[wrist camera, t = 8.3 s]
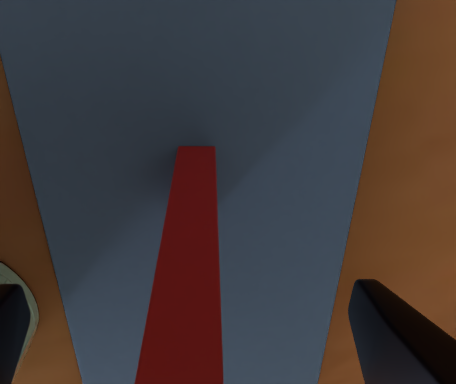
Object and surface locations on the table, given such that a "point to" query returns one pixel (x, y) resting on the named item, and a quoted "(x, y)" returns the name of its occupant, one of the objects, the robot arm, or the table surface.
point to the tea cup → (7, 276)
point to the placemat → (197, 136)
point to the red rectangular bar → (186, 281)
